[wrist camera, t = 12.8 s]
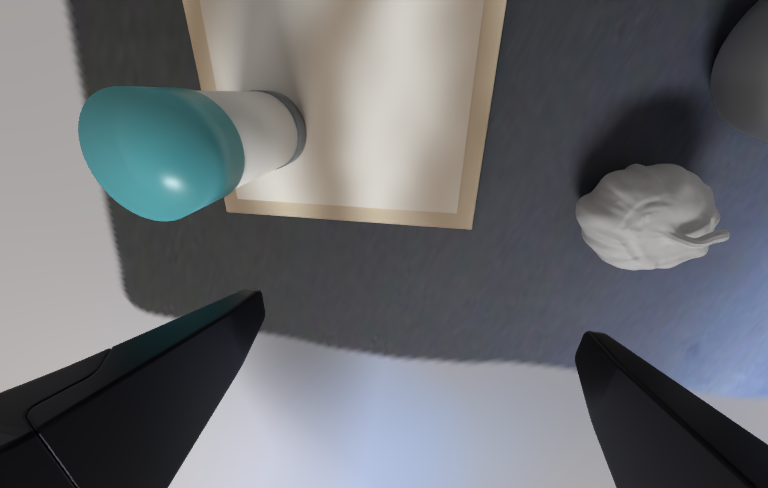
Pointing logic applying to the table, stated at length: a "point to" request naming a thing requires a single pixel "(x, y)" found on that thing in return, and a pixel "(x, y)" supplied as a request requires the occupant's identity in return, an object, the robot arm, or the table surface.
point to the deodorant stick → (185, 144)
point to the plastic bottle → (744, 75)
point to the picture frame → (362, 101)
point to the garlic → (649, 217)
